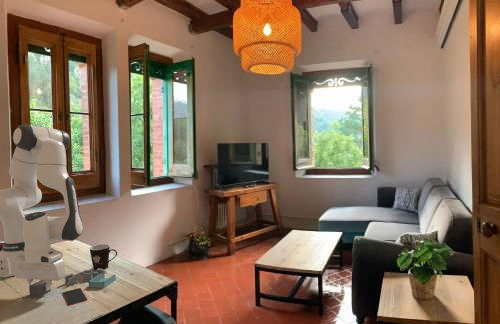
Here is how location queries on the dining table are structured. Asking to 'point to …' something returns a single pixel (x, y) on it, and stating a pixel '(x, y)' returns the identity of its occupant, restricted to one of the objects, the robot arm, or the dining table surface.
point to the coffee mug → (101, 256)
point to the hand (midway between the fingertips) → (40, 289)
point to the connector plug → (38, 289)
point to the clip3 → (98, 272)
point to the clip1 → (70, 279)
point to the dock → (101, 281)
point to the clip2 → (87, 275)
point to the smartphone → (74, 296)
